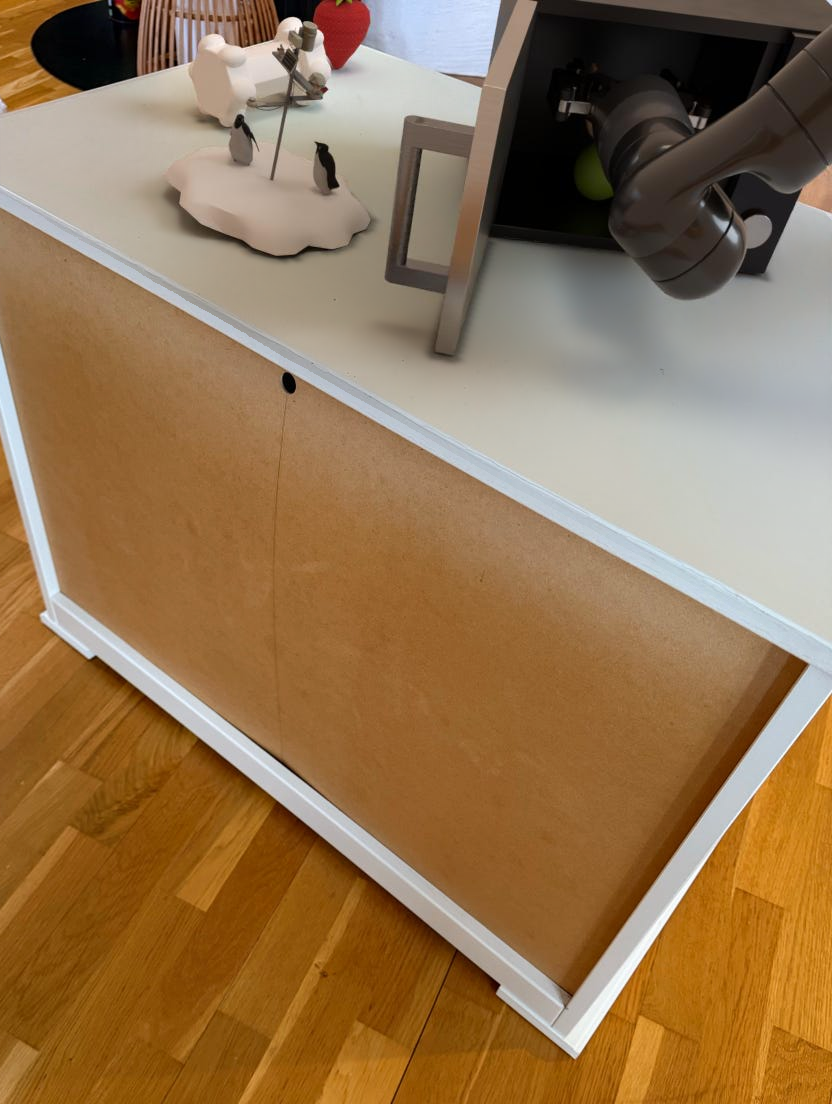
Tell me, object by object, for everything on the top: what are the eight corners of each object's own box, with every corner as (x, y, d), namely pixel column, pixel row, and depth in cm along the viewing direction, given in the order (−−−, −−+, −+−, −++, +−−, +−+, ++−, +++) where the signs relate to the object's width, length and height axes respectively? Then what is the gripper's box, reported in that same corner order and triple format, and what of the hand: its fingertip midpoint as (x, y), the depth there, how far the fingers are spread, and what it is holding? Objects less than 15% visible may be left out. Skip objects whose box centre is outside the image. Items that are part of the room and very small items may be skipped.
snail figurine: (554, 183, 97) (587, 54, 88) (614, 189, 97) (652, 61, 88) (561, 206, 93) (596, 74, 84) (623, 212, 94) (664, 81, 85)
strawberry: (375, 73, 117) (385, -20, 109) (326, 80, 114) (332, -16, 106) (350, 57, 120) (357, -35, 112) (301, 64, 117) (305, -31, 109)
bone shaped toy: (281, 86, 111) (284, 7, 105) (332, 110, 108) (338, 30, 101) (185, 112, 103) (182, 28, 97) (237, 138, 100) (237, 53, 94)
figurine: (122, 188, 87) (120, -11, 74) (250, 141, 97) (267, -40, 85) (283, 287, 82) (310, 91, 69) (400, 227, 92) (442, 47, 79)
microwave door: (371, 338, 75) (403, 70, 61) (418, 226, 90) (454, -14, 75) (453, 355, 75) (506, 89, 60) (488, 240, 89) (537, 1, 74)
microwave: (765, 280, 89) (871, 46, 74) (480, 246, 88) (529, 2, 73) (717, 183, 104) (798, -29, 89) (472, 153, 103) (512, -66, 88)
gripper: (744, 102, 75) (705, 39, 86) (573, 81, 75) (555, 20, 85) (709, 195, 81) (676, 125, 92) (549, 176, 80) (535, 108, 91)
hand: (618, 74), depth 88 cm, fingers open, 8 cm apart
